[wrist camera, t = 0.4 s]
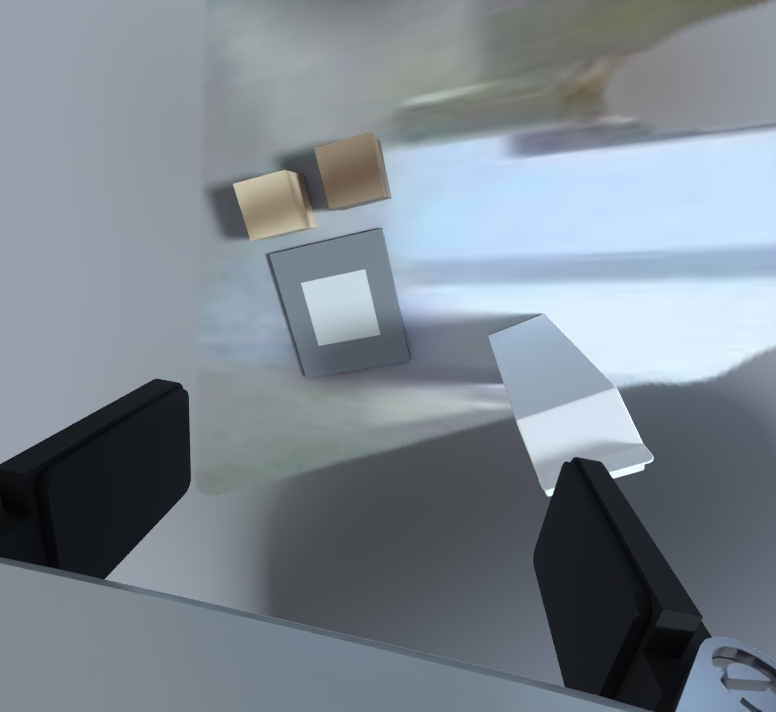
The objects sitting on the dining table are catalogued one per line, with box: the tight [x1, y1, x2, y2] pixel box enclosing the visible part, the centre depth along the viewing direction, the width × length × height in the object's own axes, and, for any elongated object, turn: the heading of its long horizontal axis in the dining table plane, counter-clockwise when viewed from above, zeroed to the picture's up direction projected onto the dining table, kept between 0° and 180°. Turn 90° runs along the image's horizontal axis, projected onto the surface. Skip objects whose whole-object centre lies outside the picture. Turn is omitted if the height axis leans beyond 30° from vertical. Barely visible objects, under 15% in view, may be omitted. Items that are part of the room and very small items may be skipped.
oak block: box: [233, 170, 317, 241], centre depth 39 cm, size 5×5×5 cm
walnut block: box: [314, 132, 391, 210], centre depth 37 cm, size 5×5×5 cm
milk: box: [488, 314, 654, 496], centre depth 32 cm, size 6×6×22 cm
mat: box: [269, 228, 410, 378], centre depth 44 cm, size 14×12×1 cm
